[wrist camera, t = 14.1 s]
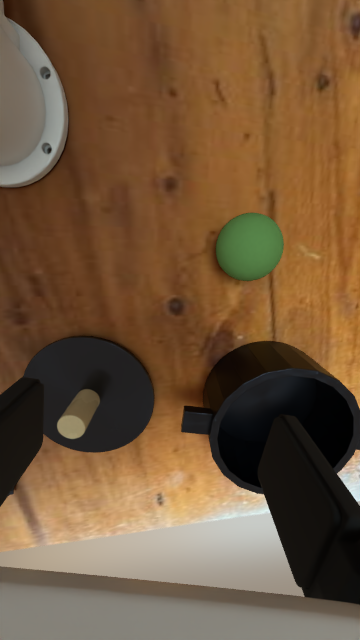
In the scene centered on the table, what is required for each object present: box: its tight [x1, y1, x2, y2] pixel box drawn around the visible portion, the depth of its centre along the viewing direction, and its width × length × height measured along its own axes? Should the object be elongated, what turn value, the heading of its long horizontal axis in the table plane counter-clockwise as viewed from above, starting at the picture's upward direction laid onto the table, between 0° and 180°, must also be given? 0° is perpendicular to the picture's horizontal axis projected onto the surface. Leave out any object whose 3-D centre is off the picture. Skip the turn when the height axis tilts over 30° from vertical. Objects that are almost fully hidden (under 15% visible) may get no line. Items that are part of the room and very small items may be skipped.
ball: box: [216, 213, 284, 281], centre depth 22 cm, size 6×6×6 cm
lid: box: [23, 336, 154, 452], centre depth 27 cm, size 16×16×6 cm
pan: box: [181, 341, 360, 494], centre depth 27 cm, size 15×20×7 cm
